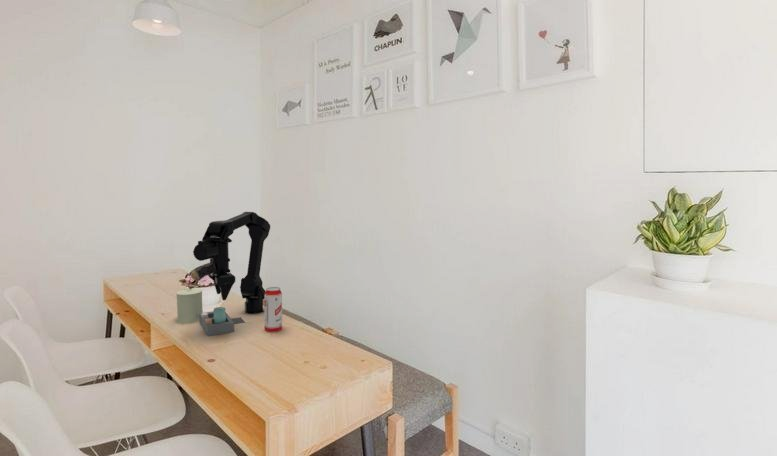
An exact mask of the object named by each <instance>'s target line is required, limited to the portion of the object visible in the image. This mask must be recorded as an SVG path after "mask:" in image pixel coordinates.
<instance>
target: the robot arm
mask: <svg viewBox="0 0 777 456" xmlns="http://www.w3.org/2000/svg"><path fill="white" fill-rule="evenodd" d="M243 226H244V227H246V228H247V229H248V236H249V237H250V239H251V243H250V249H249V250H250V251H249V256H248V257H249V258H248V266H247V274H246V275H245V276H244V277H241V279H240V286H239V288H240V293H241V297H242V299H245V301H244V312H245V313H247V314H248V315H252V314H260V313H265V310H264V302H263V301H264V300H265V292H266V289H264V287H263V280H262V277H261V276H260V273H261V266H262V259H263V250H264V243H265V241H266V239H268V237H269V234H270V230H271V224H270V223H269V221H268V220H266V219H265V218H263V217H262V216H260V215H258V214H257V213H256V212H255V211H244V212H242V213H241V214H238V215H236V216H233V217H230V218H228V219H225V220H215V221H211V222H209V223H208V226H207V228H206V231H205V232H204V234H203V237H202V240H198V241H197V244H196V245H195V247H194V248H193V251H192V253H193V256H194V258H195V259H196V261H197V260H198V261H199V262H200V261H201V262H202V261H207V260H209V262H207V263H204V264H202V265H200V266H197V267H195V268H194V271H195V273H196V275H197V277H198V279H203V278H205V277H207V276H208V277H209V278H210V279H211V280H212V281H213V285H214V288H215V291H216V294H217V295H221V296H220V297H221V300H222V301H226V300H227V299H228V296H229V294H230V292H231V289H232V288H233V286H234V284H235V283H236V276H235V275H234V274H232V273H231V268H230V264H229V263H230V262H231V259H230V257H229V254H230V253H229V243H232V242H233V240H232V239H231V238H229V237H230V236H232V235H233V234H234V231H236V230H238V229H239V228H242V227H243Z"/></svg>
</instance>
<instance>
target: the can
mask: <svg viewBox="0 0 777 456" xmlns="http://www.w3.org/2000/svg"><path fill="white" fill-rule="evenodd" d="M176 306H177V307H176V308H177V309H176V310H177V323H180V324H192V323H197V322H198V323H199V313H204V311H203V290H202V289H199V288H188V289H183V290H178V291H177V292H176Z"/></svg>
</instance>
